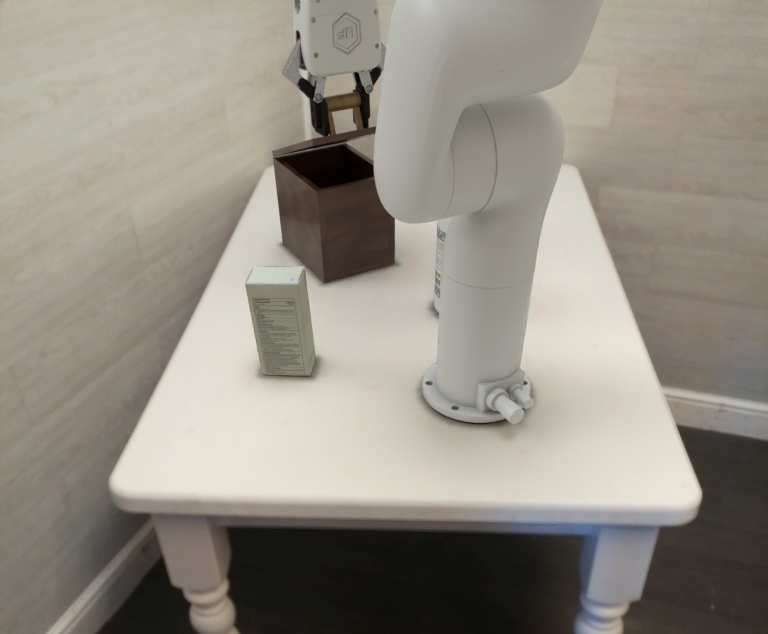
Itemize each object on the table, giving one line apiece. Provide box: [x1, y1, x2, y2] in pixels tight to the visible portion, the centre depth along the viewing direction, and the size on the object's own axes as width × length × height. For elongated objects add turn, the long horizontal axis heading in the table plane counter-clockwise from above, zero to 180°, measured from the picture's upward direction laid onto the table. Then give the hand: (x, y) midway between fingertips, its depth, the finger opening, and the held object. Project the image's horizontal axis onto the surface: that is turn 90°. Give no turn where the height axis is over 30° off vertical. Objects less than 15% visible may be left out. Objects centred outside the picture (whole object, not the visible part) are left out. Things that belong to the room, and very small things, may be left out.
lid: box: [271, 91, 376, 158], centre depth 98 cm, size 16×12×5 cm
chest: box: [272, 142, 396, 284], centre depth 106 cm, size 15×12×13 cm
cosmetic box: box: [244, 265, 317, 377], centre depth 85 cm, size 6×4×12 cm
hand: (341, 128), depth 95 cm, fingers closed on lid, 5 cm apart
